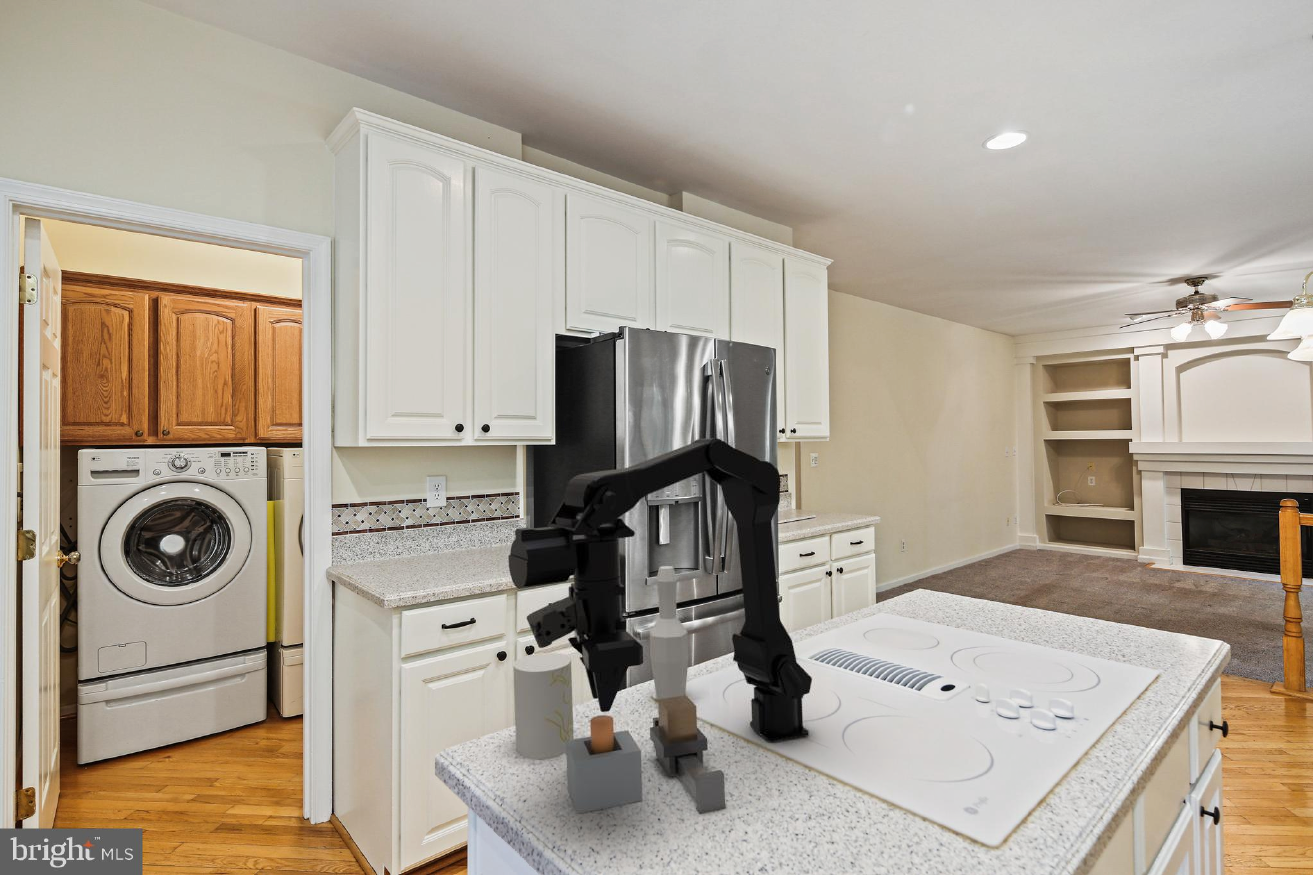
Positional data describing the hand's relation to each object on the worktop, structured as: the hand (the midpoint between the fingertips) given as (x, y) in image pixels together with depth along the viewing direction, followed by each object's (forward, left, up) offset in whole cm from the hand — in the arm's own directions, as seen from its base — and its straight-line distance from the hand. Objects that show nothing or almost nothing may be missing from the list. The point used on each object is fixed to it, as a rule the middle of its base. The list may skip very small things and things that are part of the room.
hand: (601, 704), depth 81 cm
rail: (-11, -1, -11) cm, 16 cm away
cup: (+5, -16, -11) cm, 20 cm away
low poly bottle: (-17, -25, -11) cm, 32 cm away
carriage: (-11, -4, -11) cm, 16 cm away
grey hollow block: (0, 0, -11) cm, 11 cm away
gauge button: (0, 0, -5) cm, 5 cm away
